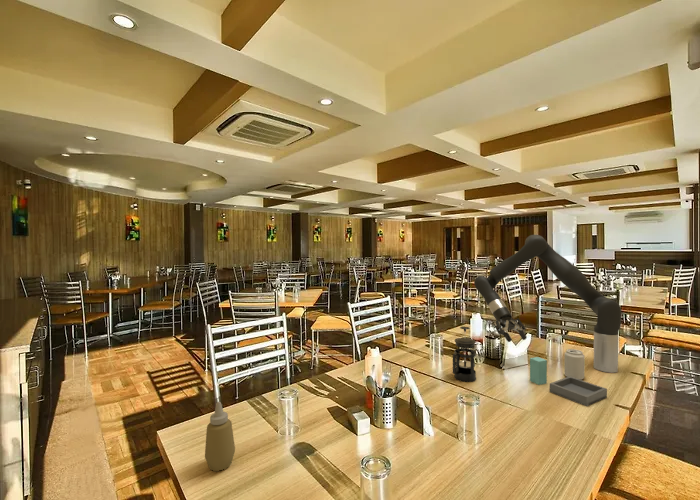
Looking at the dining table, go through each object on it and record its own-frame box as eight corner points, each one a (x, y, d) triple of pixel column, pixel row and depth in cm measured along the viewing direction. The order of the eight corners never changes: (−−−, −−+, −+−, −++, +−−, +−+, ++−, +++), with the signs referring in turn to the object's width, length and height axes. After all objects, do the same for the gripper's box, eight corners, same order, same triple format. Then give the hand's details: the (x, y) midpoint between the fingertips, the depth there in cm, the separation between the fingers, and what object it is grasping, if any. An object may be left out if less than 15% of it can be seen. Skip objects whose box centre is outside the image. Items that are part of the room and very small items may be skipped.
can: (578, 374, 156) (578, 348, 156) (588, 381, 149) (588, 353, 149) (561, 373, 157) (561, 347, 157) (569, 380, 150) (570, 353, 149)
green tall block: (537, 379, 152) (538, 356, 151) (546, 383, 148) (546, 360, 147) (529, 380, 150) (529, 358, 150) (538, 385, 146) (538, 361, 146)
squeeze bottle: (210, 457, 101) (208, 396, 101) (238, 455, 102) (236, 395, 101) (200, 476, 93) (198, 410, 93) (231, 473, 94) (229, 408, 93)
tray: (569, 384, 146) (569, 376, 146) (606, 397, 134) (607, 388, 134) (549, 391, 140) (549, 383, 139) (586, 406, 127) (587, 397, 127)
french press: (466, 372, 161) (466, 323, 160) (482, 379, 152) (482, 327, 152) (446, 376, 156) (446, 326, 155) (461, 384, 148) (461, 331, 147)
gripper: (491, 307, 165) (509, 337, 154) (515, 305, 169) (534, 334, 159) (484, 316, 170) (501, 346, 160) (507, 313, 175) (525, 342, 164)
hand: (517, 340), depth 159 cm, fingers open, 8 cm apart
